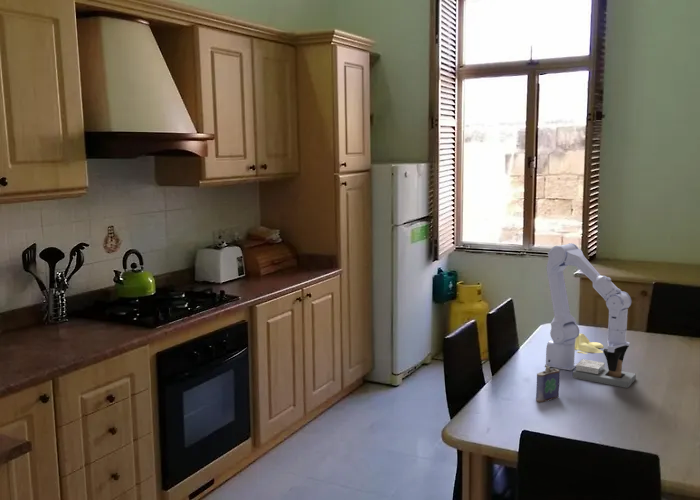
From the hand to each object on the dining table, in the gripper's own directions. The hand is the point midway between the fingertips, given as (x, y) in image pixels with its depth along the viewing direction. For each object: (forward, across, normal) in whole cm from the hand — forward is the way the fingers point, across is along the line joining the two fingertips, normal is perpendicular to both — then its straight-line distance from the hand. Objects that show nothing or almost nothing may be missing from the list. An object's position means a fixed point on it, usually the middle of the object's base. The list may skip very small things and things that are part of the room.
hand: (615, 367), depth 226 cm
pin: (+4, 0, 0) cm, 5 cm away
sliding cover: (+2, 0, +8) cm, 9 cm away
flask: (+5, -29, +13) cm, 32 cm away
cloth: (+5, +31, +20) cm, 37 cm away
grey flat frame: (+4, 0, +3) cm, 6 cm away
